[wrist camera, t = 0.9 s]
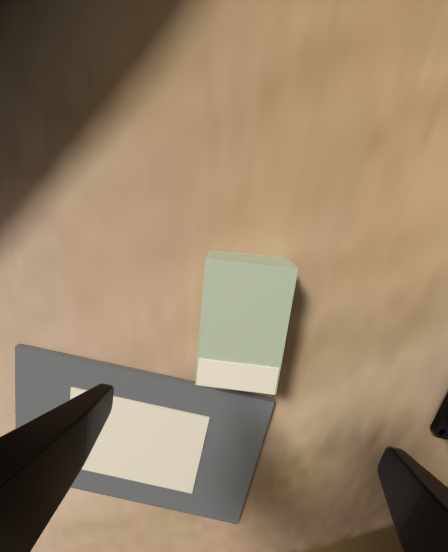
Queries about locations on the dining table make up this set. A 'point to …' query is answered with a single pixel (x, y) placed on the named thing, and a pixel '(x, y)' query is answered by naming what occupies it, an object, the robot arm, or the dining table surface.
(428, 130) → the dining table surface
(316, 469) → the dining table surface
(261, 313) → the sage block
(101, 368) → the placemat
